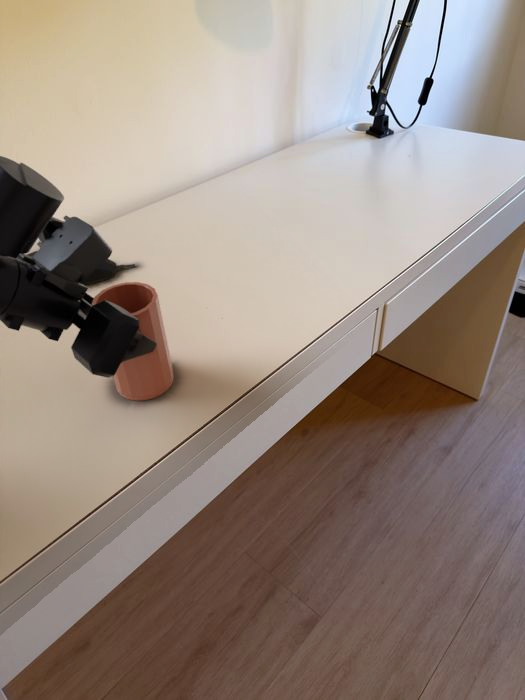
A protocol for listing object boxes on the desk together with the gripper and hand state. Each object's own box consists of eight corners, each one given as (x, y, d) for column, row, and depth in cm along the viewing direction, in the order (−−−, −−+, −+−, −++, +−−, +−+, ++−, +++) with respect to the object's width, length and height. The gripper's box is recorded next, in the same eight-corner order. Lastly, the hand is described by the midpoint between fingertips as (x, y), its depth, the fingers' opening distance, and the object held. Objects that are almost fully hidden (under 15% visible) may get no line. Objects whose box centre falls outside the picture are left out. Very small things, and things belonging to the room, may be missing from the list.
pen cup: (121, 407, 61) (96, 324, 54) (111, 371, 66) (87, 290, 59) (179, 390, 63) (163, 307, 56) (166, 356, 68) (149, 276, 61)
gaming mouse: (138, 275, 84) (133, 253, 82) (42, 295, 81) (34, 272, 79) (132, 257, 89) (127, 236, 87) (41, 275, 86) (33, 253, 83)
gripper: (93, 237, 41) (217, 297, 53) (-2, 179, 52) (119, 240, 64) (30, 362, 42) (167, 392, 54) (-51, 279, 53) (79, 320, 65)
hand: (131, 329), depth 60 cm, fingers open, 9 cm apart
